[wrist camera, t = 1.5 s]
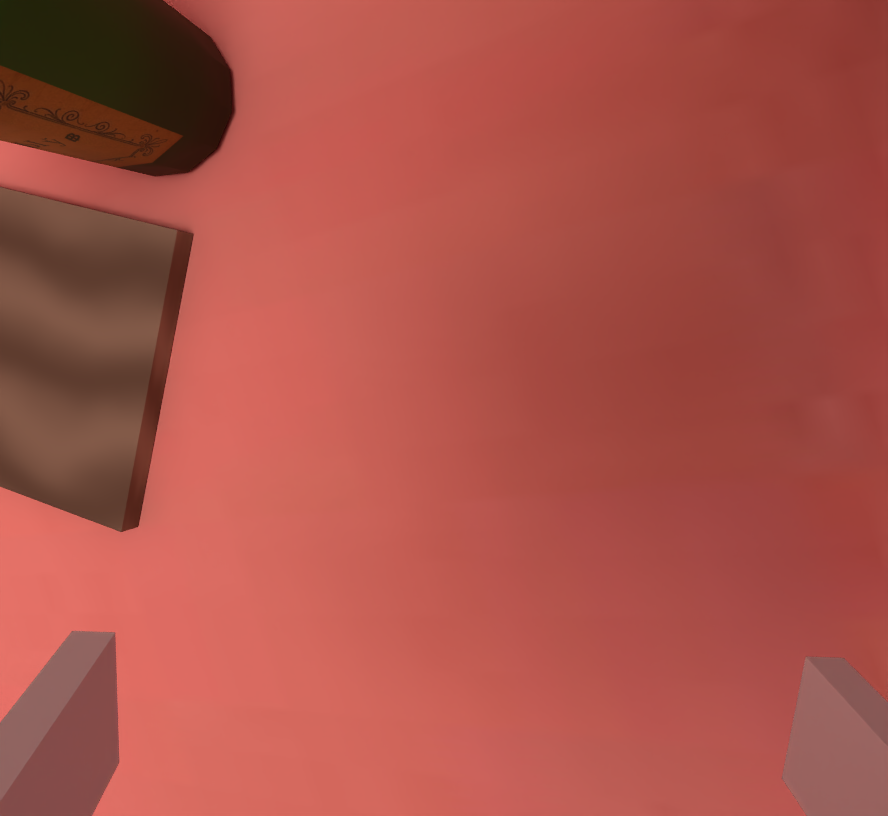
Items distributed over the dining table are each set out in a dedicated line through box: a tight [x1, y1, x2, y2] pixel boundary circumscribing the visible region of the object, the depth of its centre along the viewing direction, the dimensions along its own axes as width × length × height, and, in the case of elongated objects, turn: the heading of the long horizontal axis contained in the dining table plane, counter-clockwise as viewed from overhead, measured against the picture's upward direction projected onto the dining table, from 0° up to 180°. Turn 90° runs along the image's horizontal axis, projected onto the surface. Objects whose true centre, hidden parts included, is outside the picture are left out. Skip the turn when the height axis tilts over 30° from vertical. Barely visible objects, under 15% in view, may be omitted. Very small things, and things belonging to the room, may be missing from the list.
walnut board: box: [0, 187, 193, 532], centre depth 49 cm, size 18×18×2 cm
